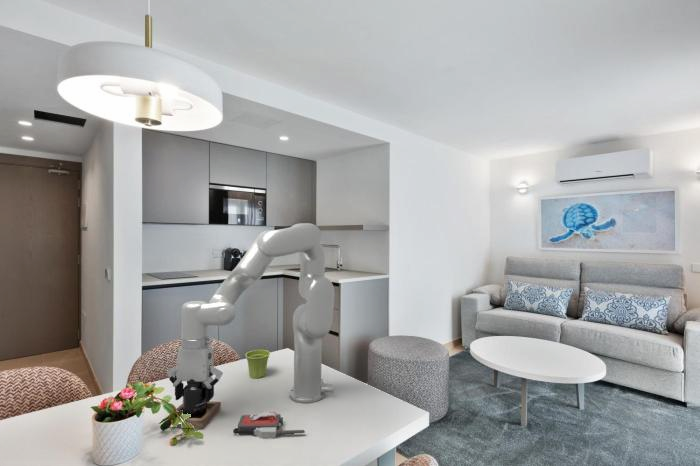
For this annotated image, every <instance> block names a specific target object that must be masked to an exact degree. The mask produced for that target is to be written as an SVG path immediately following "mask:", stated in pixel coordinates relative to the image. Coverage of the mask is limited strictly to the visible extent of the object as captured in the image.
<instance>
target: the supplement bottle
mask: <svg viewBox="0 0 700 466" xmlns="http://www.w3.org/2000/svg"><path fill="white" fill-rule="evenodd" d="M207 388H208V387H207V386H206V384H205V383H204V382H196V381H195V380H193V379H191V380H190V381H186V385H184V387H183V396H182V404H183V414H187V413H188V414H191V417H189V418H202V417H203V416H204V415H205V414H206V413H207V402H206V389H207Z"/></svg>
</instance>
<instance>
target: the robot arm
mask: <svg viewBox="0 0 700 466" xmlns="http://www.w3.org/2000/svg"><path fill="white" fill-rule="evenodd" d="M321 240H322V233H321V230H320V228H319V226H317V225H316V224H314V223H310V222H306V223H296V224H293V225H292V226H291V227H285V228H281V229H275V230H273V229H272V230H271V229H268V230H264V231H262V232H260V234H258V236H257V237H256V238H255V239H254V241H253V242H252V244H251V246H250V247H249V248H248V250H247V251H246V252H245V254H244V255H243V257H242V258H241V259H240V261H238V263H237V265H236V266H235V267H234V269H232V271H231V272H230V274H229V275H228V276H227V277H226V278H225V279H224V280H223V282H222V283H221V285H219V287H218V288H217V290H216V291H215V293H214V294H213V295H212V297H211V298H210V300H209V302H208V303H207V302H206V301H205V300H191V301H187V302H184V303H183V304H182V306H181V324H180V326H181V331H180V332H181V335H180V336H181V337H180V338H181V339H180V343H181V345H180V347H179V348H178V352H177V357H176V364H175V366H174V367H172V368H170V369H167V370H166V375H167V376H168V378H169V381H170V382H171V383H172V386H173V387H174V396H175V397H174V398H175V399H174V400H176V401H178V400H180V399H181V398H183V389H184V387H185V385H184V383H183V382H187V381H190V380H191V379H193V380H195V381H196V382H204V383H205V384H206V386H207V387H208V388H207V389H206V402H209V401H212V399H213V397H214V395H215V385H216V384H217V383H219V381H220V379H221V377H222V376H223V374H224V373H223V371H222V370H220V369H218V368H216V367H215V366H214V365H215V364H214V355H213V349H212V345H211V344H213V339H212V338H210V335H209V326H214V327H215V326H216V327H219V326H220V327H222V326H227V325H229V324H231V323H232V322H233V321H234V320H235V318H236V315H237V314H236V308H235V304H236V302H237V301H238V299H240V297H241V296H242V294H243V293H245V291H246V290H247V289H248V288H249V287H251V286H253V285H255V284H257V283H258V282H259V281H260V279H262V277H263V275H264V274H265V273H266V271H267V269H268V268H269V267H270V266H271V264H272V263H273V260H274V259H275V258H279V257H285V256H289V255H294V254H298V253H299V254H300V255H299V256H300V270H299V279H298V281H299V282H298V293H299V295H300V297H301V298H303V299H304V300H306V302H305V303H302V304H300V305H299V306H298V307H296V309H295V310H294V312H293V315H292V328H293V338H294V341H293V342H294V344H293V346H294V348H293V349H294V350H293V352H294V353H293V387H292V388H291V389H289V392H288V393H289V394H288V395H289V396H288V397H289V398H290V399H291V400H293V401H295V402H297V403H302V404H303V403H307V404H308V403H309V404H310V403H315V402H318V401H320V400H323V398H324V397H325V396H326V393H334V388H335V387H334V385H333V386H332V384H331V383H325V382H324V378H322V354H323V353H322V352H323V351H322V349H323V347H322V346H323V345H322V344H323V341H322V339H323V338H325V337H326V336H327V335H328V334H329V333H330V331H331V328H332V324H333V317H334V308H335V307H334V306H335V295H336V294H335V287H334V285H333V283H332V281H331V280H330V279H329V278H328V277H326V276H325V273H326V272H325V270H326V269H325V267H326V254H325V250H324V247H323V245H322V243H321ZM214 375H215V377H214V378H213V376H214Z"/></svg>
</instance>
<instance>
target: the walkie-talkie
mask: <svg viewBox="0 0 700 466" xmlns="http://www.w3.org/2000/svg"><path fill="white" fill-rule="evenodd" d="M283 422H284V418H283V417H282V415H281V414H280V413H276V412H275V411H274V412H273V411H269V412H267V411H263V412H262V411H261V412H260V413H259V414H253V413H251V414H244V415H241V417H240V419H239V420H238V423H237V427H235V428H234V429H233V434H237V435H239V436H246V435H253V436H255V437H258V438H260V439H276V437H277V436H281V435H282V436H283V435H286V436H287V435H295V434H305V433H306V432H305V430H304V429H290V430H289V429H288V430H286V429H285V430H281V428H280V427H282V426H283V425H284V424H283Z"/></svg>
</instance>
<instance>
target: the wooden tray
mask: <svg viewBox="0 0 700 466" xmlns="http://www.w3.org/2000/svg"><path fill="white" fill-rule="evenodd" d="M221 403H222V402H221V401H212V400H210V401H209V402H207V413H206V414H205V415H204V416H203V417H202V418H187V419H185V421H186V422H188V423H191V424H192V425H193V426H194V428H195V429H194V430H201V431H203V430H204V429H205V428H206V427H207V425H208V424H210V422H211V421H212V420H213V419H214V418H215V417H216V415H218V414H219V412H220V411H221V410H222V407H221V406H222V404H221ZM175 410H177V411H180V410H183V403H182V404H179V406H178V407H177V408H175ZM168 416H169V415H167V416H166V417H165V418H164V420H165V419H166V418H167V417H168ZM175 429H182V428H181V424H178V425H177V427H176V428H175Z"/></svg>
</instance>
